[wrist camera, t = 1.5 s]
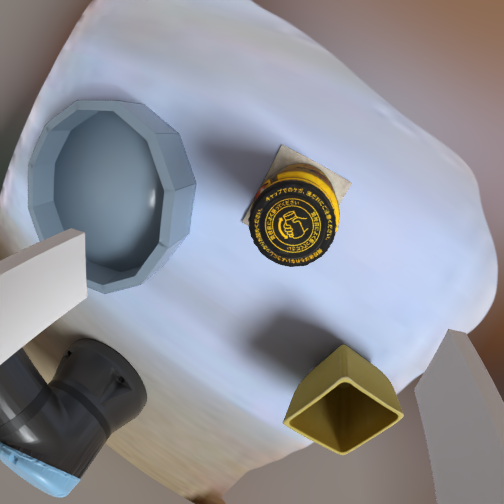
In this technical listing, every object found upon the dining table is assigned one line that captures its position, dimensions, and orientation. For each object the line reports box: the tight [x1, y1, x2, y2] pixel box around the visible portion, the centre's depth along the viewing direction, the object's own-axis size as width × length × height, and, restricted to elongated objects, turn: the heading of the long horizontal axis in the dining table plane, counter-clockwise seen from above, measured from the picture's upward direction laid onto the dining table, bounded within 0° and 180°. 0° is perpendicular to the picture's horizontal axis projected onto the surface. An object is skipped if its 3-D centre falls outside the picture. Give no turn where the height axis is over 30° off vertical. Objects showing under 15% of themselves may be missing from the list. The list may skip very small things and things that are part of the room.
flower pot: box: [283, 344, 404, 455], centre depth 31 cm, size 9×9×9 cm
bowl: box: [28, 100, 196, 294], centre depth 31 cm, size 20×20×5 cm
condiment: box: [242, 145, 352, 267], centre depth 24 cm, size 7×8×12 cm
